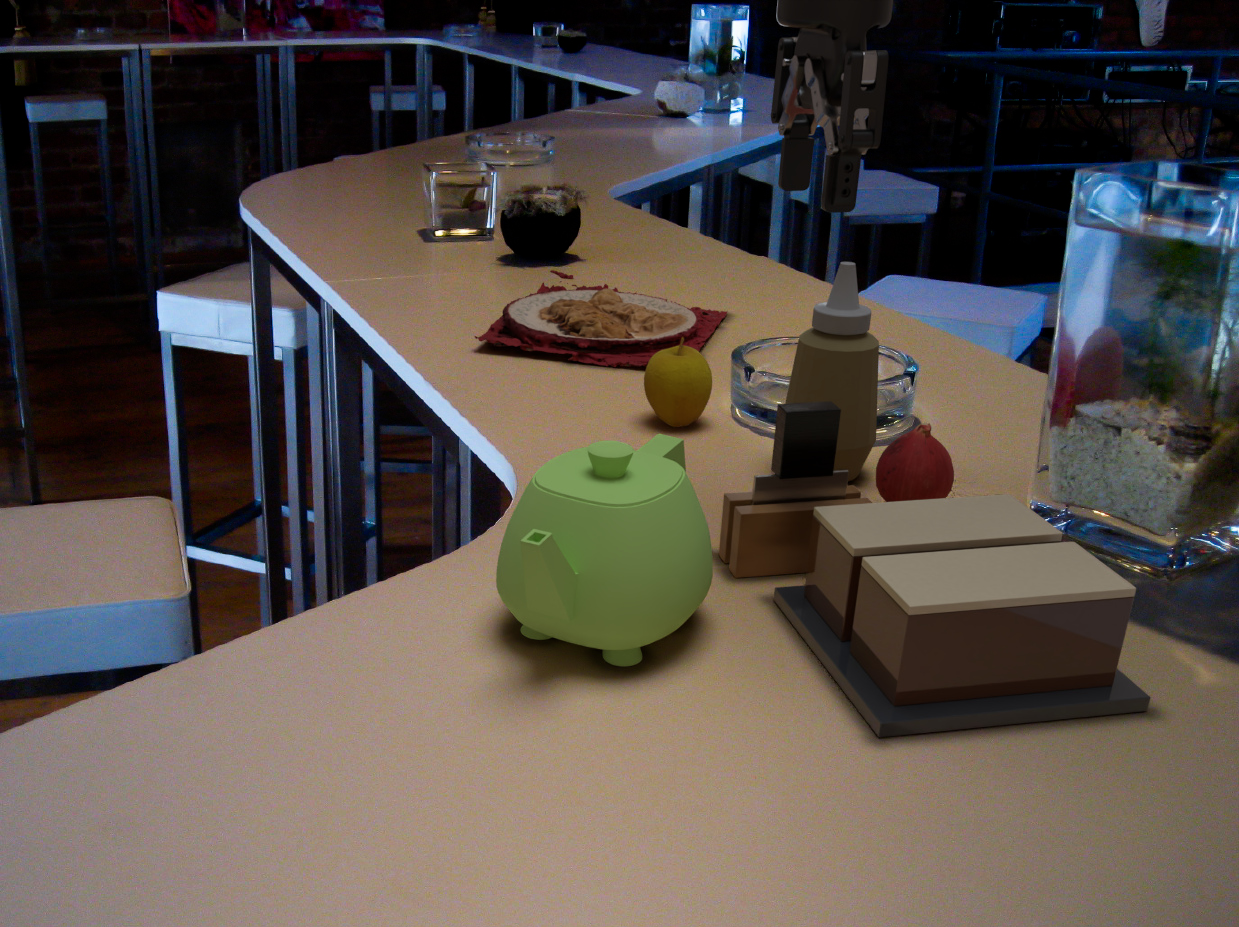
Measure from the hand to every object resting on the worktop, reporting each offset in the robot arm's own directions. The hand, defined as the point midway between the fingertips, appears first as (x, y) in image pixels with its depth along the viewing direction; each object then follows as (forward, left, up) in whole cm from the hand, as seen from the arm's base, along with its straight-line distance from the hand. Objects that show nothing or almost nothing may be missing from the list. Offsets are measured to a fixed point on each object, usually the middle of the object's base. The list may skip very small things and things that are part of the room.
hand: (814, 200), depth 90 cm
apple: (+2, -22, -25) cm, 33 cm away
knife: (+2, +8, -24) cm, 26 cm away
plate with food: (+1, -53, -25) cm, 58 cm away
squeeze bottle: (-7, -8, -25) cm, 27 cm away
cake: (-3, +22, -24) cm, 33 cm away
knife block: (+2, +8, -24) cm, 26 cm away
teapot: (+18, +15, -25) cm, 34 cm away
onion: (-10, +2, -25) cm, 27 cm away
